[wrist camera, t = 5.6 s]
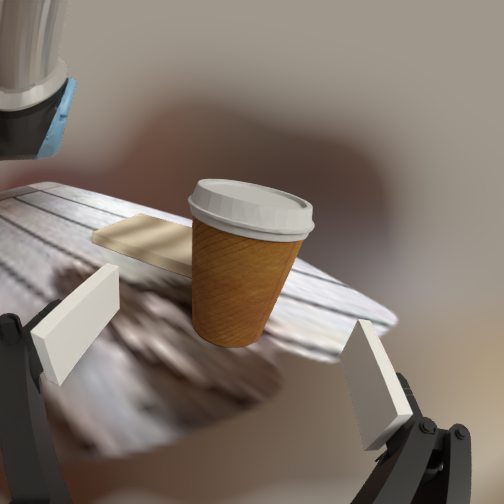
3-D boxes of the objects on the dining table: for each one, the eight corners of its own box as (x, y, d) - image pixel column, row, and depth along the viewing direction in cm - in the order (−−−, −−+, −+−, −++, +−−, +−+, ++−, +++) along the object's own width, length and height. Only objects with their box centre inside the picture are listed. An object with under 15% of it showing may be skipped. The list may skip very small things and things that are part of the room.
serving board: (92, 242, 33) (92, 232, 32) (140, 222, 44) (140, 213, 43) (221, 288, 30) (224, 276, 30) (247, 253, 41) (249, 243, 41)
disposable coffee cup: (169, 295, 27) (184, 173, 22) (257, 296, 30) (284, 188, 26) (182, 365, 19) (203, 200, 14) (296, 355, 22) (344, 220, 18)
